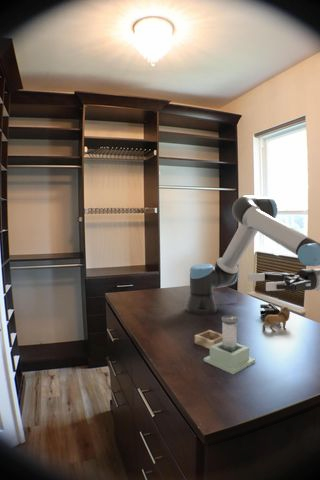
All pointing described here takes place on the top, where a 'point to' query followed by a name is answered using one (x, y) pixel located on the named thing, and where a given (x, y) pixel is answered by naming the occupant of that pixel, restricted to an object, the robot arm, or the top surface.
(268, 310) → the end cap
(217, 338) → the mount
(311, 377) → the top surface
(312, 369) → the top surface
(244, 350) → the socket
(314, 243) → the robot arm
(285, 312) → the lion figurine
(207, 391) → the top surface
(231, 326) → the silver capped cylinder
